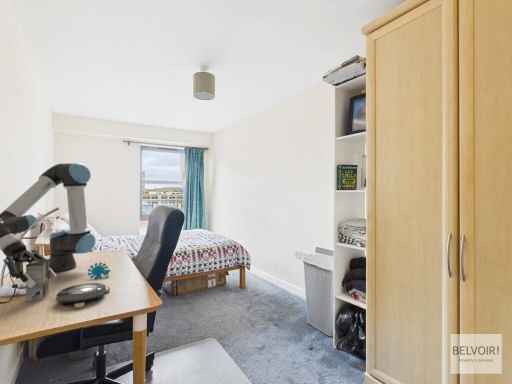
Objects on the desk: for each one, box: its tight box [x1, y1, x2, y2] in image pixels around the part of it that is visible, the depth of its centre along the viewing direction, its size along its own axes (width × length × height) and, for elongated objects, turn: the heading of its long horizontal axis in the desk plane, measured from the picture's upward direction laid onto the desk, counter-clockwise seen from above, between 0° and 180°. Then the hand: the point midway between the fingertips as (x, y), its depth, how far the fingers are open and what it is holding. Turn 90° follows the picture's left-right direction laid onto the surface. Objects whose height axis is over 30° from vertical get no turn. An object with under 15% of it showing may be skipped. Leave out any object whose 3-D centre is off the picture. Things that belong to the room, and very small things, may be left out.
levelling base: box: [55, 282, 111, 310], centre depth 119 cm, size 21×21×5 cm
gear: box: [87, 262, 111, 280], centre depth 151 cm, size 11×6×10 cm
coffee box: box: [25, 258, 50, 302], centre depth 120 cm, size 9×6×16 cm
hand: (44, 281), depth 120 cm, fingers closed on coffee box, 10 cm apart
